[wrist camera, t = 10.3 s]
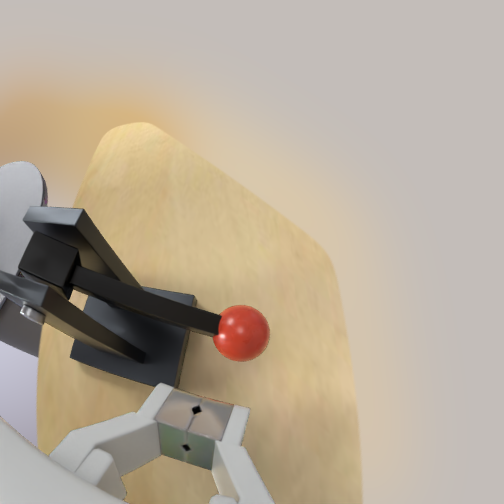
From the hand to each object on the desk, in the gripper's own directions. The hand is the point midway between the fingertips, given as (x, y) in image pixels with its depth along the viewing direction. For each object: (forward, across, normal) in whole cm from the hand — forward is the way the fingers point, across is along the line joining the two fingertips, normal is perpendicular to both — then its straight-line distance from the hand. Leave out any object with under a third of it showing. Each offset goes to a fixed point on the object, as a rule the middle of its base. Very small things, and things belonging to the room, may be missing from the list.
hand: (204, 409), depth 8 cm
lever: (+6, +6, +1) cm, 9 cm away
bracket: (+12, +10, +7) cm, 17 cm away
